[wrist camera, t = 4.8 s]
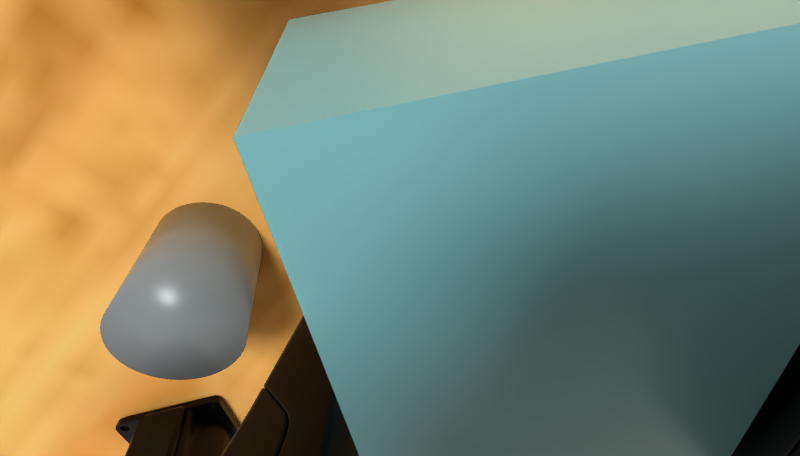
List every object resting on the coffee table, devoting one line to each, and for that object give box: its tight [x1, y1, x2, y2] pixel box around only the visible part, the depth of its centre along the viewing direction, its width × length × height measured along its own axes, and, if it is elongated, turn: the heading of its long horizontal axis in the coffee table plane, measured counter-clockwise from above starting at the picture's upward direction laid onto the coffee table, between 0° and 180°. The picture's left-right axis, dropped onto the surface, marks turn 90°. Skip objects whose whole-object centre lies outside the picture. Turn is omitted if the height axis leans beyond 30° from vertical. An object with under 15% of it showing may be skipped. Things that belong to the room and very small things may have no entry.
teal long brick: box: [233, 0, 800, 456], centre depth 8 cm, size 10×5×6 cm, turn 8°
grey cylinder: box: [100, 203, 263, 380], centre depth 18 cm, size 5×5×6 cm
